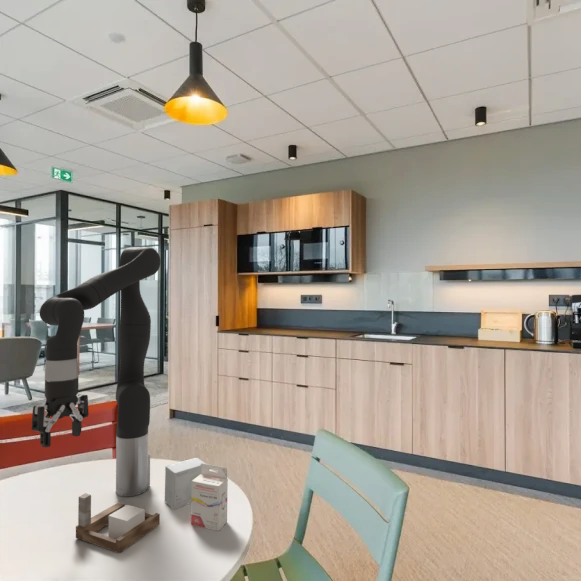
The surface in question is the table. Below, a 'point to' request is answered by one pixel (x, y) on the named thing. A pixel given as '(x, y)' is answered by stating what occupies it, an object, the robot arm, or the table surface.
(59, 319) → the robot arm
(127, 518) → the white cube
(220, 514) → the ink cartridge box
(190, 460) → the skincare box
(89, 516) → the pull frame
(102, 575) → the table surface
